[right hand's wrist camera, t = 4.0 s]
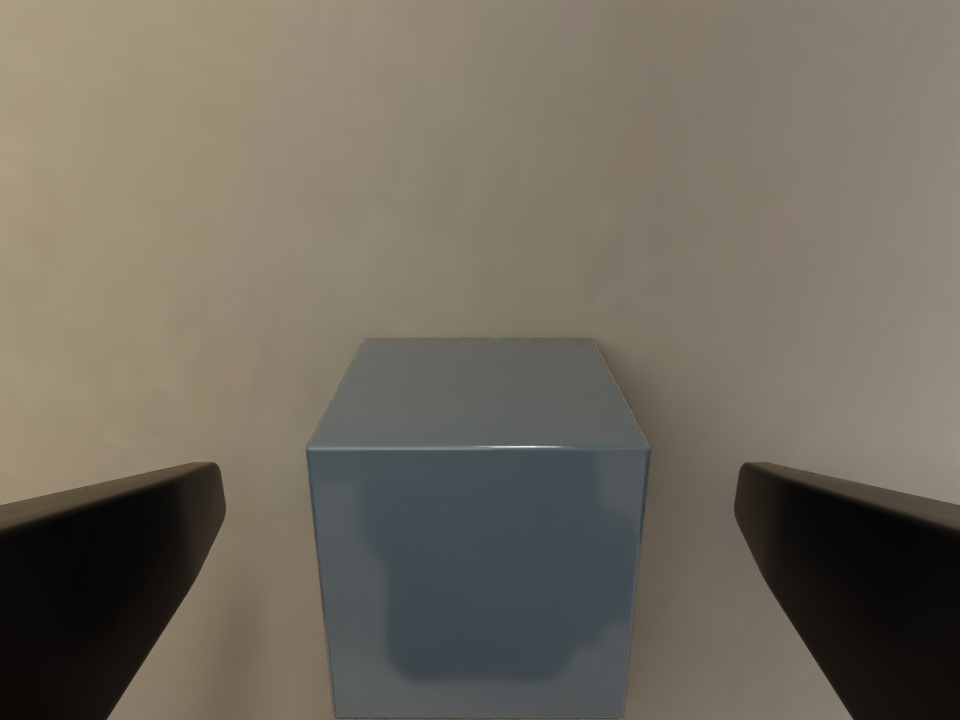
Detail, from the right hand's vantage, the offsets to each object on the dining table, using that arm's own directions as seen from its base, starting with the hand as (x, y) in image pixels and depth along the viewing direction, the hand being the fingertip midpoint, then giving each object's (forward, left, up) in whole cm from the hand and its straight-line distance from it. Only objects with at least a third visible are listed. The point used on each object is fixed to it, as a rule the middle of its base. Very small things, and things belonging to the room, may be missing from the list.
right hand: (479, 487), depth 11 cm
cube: (0, 0, -2) cm, 2 cm away
